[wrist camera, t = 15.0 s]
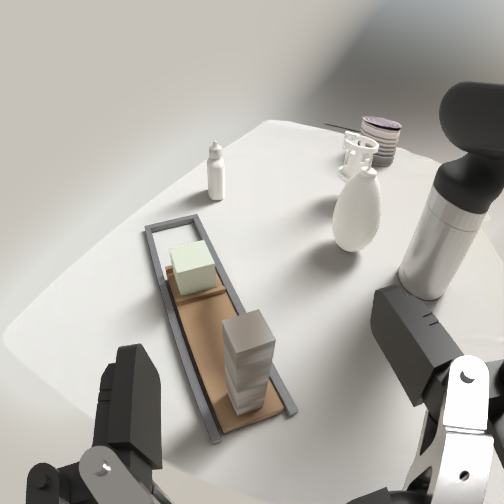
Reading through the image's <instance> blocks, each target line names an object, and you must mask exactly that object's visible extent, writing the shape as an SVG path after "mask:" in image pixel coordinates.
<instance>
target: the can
mask: <svg viewBox="0 0 504 504" xmlns="http://www.w3.org/2000/svg"><path fill="white" fill-rule="evenodd" d="M362 118H363V119H362V125H361V130H360V135H361V136H365V137H368V138H371V139H373V140H374V141H376V142H377V143H378V144H379V149H378V152H377V153H374V154H373V160H372V164H373V165H377V166H390V165H391V164H392V163H393V159H394V155H395V151H396V147H397V143H398V139H399V135H400V130H401V128H400V127H402V126H401V125H400V124H399V123H397V122H394V121H391V120H387V119H384V118H378V117H371V116H367V117H362ZM360 142H361V141H358V146H360ZM365 146H366V147H368V148H373V146H372V145H370V144H368V143H366V144H365Z"/></svg>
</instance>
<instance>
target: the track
mask: <svg viewBox="0 0 504 504" xmlns="http://www.w3.org/2000/svg"><path fill="white" fill-rule="evenodd" d="M190 223H194V224H195V226H196V229H197V231H198V233H199V235H200V237H201V240H204V241H205V243H206V245H207V247H208V250H209V252H210V254H211V256H212V258H213V260H214V262H215V270H216V272H217V274H218V276H219V278H220V280H221V282H222V285H223V286H225V288H226V293H227V295H228V297H229V299H230V301H231V303H232V305H233V307H234V309H235V312H236V314H237V316H239V315H242V314H245V313H246V311H245V309H244V307H243V305H242V303H241V301H240V299H239V297H238V295H237V293H236V291H235V290H234V288H233V286H232V284H231V282H230V280H229V278H228V276H227V274H226V272H225V270H224V268H223V266H222V264H221V262H220V260H219V258H218V256H217V254H216V252H215V250H214V248H213V246H212V243H211V241H210V239H209V237H208V235H207V233H206V231H205V229H204V227H203V225H202V223H201V221H200V219H199V217H198V215H197V214H195V215H190V216H186V217H182V218H177V219H173V220H169V221H164V222H160V223H156V224H152V225H148V226H145V231H146V235H147V239H148V244H149V248H150V252H151V256H152V260H153V264H154V268H155V271H156V275H157V279H158V283H159V286H160V290H161V293H162V297H163V301H164V304H165V307H166V311H167V314H168V318H169V321H170V324H171V328H172V331H173V334H174V337H175V340H176V343H177V347H178V350H179V353H180V356H181V359H182V362H183V365H184V368H185V371H186V373H187V376H188V379H189V382H190V385H191V388H192V390H193V393H194V396H195V399H196V401H197V404H198V407H199V409H200V412H201V415H202V417H203V420H204V422H205V425H206V427H207V430H208V432H209V435H210V437H211V440H212V442H213V444H216V443H219V442H222V439H221V437H220V435H219V432H218V430H217V427H216V425H215V423H214V420H213V418H212V415H211V413H210V410H209V408H208V405H207V403H206V400H205V397H204V395H203V392H202V390H201V387H200V384H199V382H198V379H197V376H196V373H195V371H194V368H193V365H192V362H191V360H190V357H189V354H188V351H187V348H186V345H185V342H184V339H183V336H182V333H181V330H180V327H179V324H178V321H177V318H176V315H175V312H174V309H173V305H172V302H171V299H170V296H169V292H168V289H167V286H166V282H165V279H164V276H163V272H162V269H161V265H160V261H159V258H158V254H157V251H156V247H155V243H154V239H153V236H152V232H156V231H160V230H164V229H168V228H172V227H177V226H181V225H185V224H190ZM269 379H270V381H271V383H272V385H273V387H274V389H275V391H276V393H277V395H278V397H279V398H280V400H281V402H282V404H283V406H284V408H285V410H286V412H287V414H288V415H289V416H292V415H294V414H296V413H297V412H298V409H297V407H296V405H295V403H294V402H293V400H292V398H291V396H290V394H289V392H288V391H287V389H286V387H285V385H284V383H283V381H282V379H281V378H280V376H279V374H278V372H277V370H276V368H275V366H274V365H273V363H272V364H271V369H270V374H269Z"/></svg>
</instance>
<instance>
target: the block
mask: <svg viewBox="0 0 504 504" xmlns="http://www.w3.org/2000/svg"><path fill="white" fill-rule="evenodd" d="M169 251H170V257H171V262H172V267H173V273H174V276H175V279H176V282H177V285H178V288H179V291H180V294H181V297H184V296H188V295H192V294H195V293H199V292H203V291H206V290H210V289H214V288H217V286H216V271H215V262H214V260H213V258H212V256H211V254H210V252H209V250H208V247H207V245H206V243H205V241H204V240H201V241H196V242H192V243H188V244H184V245H180V246H176V247H172V248H169Z"/></svg>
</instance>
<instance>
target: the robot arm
mask: <svg viewBox="0 0 504 504" xmlns="http://www.w3.org/2000/svg"><path fill="white" fill-rule="evenodd" d="M439 117H440V118H439V119H440V124H441V126H442V129H443V131H444V133H445V135H446V137H447V138H448V139H449V141H450V142H452V143H453V144H454V145H455V146H456V147H458V148H460V149H461V150H463V151H466V152H468V153H467V154H466V155H465V156H463V157H462V158H460V159H457V160H454V161H451V162H447V163H444V164H442V165H441V166H440V167H439V169H438V171H437V173H436V176H435V179H434V182H433V185H432V188H431V191H430V194H429V197H428V199H427V202H426V205H425V208H424V210H423V213H422V215H421V218H420V221H419V223H418V226H417V228H416V230H415V233H414V235H413V238H412V240H411V243H410V245H409V247H408V250H407V252H406V254H405V256H404V259H403V261H402V263H401V265H400V268H399V271H398V276H399V280H400V282H401V284H402V285H403V286H404V288H405V289H406V290H407V291H408V292H410V293H411V294H413V295H414V296H413V295H409V296H406V294H405V293H404V292H403V291H402V289H401V288H400V287H399V286H398V285H396V284H395V285H391V286H388V287H385V288H381V289H378V290H376V291H375V293H374V300H373V307H372V314H371V329H372V333H373V335H374V337H375V339H376V341H377V342H378V344H379V346H380V348H381V349H382V351H383V353H384V354H385V356H386V358H387V360H388V361H389V363H390V365H391V367H392V368H393V370H394V372H395V374H396V376H397V377H398V379H399V381H400V383H401V384H402V386H403V388H404V390H405V392H406V394H407V395H408V397H409V399H410V401H411V403H412V405H413V406H414V407H416V406H418V405H420V404H422V403H425V405H426V407H427V410H426V412H425V417H424V422H423V427H422V431H421V436H420V440H419V444H418V448H417V452H416V456H415V459H414V462H413V464H412V466H411V467H410V470H409V472H408V474H407V477H406V480H405V483H404V486H403V489H402V491H389V492H388V489H387V487H385V488H383V489H380V490H378V491H375V492H373V493H370V494H367V495H365V496H362V497H359V498H357V499H354V500H352V501H350V502H348V503H347V504H483V501H484V496H485V492H486V487H487V481H488V476H489V470H490V463H491V456H492V448H493V446H494V448H495V450H496V453H497V455H498V457H499V459H500V461H501V464H502V466H503V468H504V360H498V361H492V362H486V363H483V362H482V361H481V360H480V359H478V358H476V357H473V356H465V355H464V354H463V353H462V351H461V350H460V349H459V347H458V346H457V345H456V343H455V342H454V341H453V339H452V338H451V336H450V335H449V334H448V333H447V331H446V330H445V329H444V327H443V326H442V325H441V323H439V322H438V319H437V318H436V317H435V316H434V315H432V312H431V311H430V309H429V308H428V307H427V306H426V304H425V303H424V302H423V301H421V300H420V299H418V298H421V299H424V300H435V299H438V298H440V297H441V296H442V295H443V293H444V291H445V290H446V288H447V287H448V285H449V283H450V282H451V280H452V278H453V277H454V275H455V273H456V271H457V270H458V268H459V266H460V264H461V262H462V261H463V259H464V257H465V255H466V253H467V251H468V249H469V248H470V246H471V244H472V242H473V240H474V238H475V236H476V234H477V232H478V230H479V228H480V225H481V223H482V221H483V219H484V217H485V215H486V213H487V211H488V209H489V206H490V204H491V203H492V202H493V201H494V200H495V199H496V198H497V197H498V196H499V195H500V193H501V192H502V190H503V188H504V84H495V83H484V82H471V81H469V82H468V81H466V82H460V83H458V84H456V85H454V86H453V87H452V88H450V89H449V90H448V92H447V93H446V94H445V96H444V97H443V99H442V102H441V105H440V110H439ZM415 296H416V297H418V298H416V297H415ZM99 390H100V393H99V396H98V403H97V411H96V419H95V428H94V437H93V445H92V447H91V448H90V449H88V450H87V451H86V452H85V453H84V454H83V455H82V457H81V459H80V461H79V462H77V463H74V464H71V465H67V466H64V467H61V468H58V469H56V468H55V467H53V466H51V465H50V464H47V463H39V464H37V465H35V466H34V467H33V468H32V469H31V470H30V472H29V474H28V477H27V489H26V504H174V503H173V502H172V500H171V499H170V498H169V497H167V495H166V494H165V493H164V492H163V491H162V490H161V489H160V488H159V487H158V486H157V484H156V483H155V482H154V481H153V480H152V470H155V469H162V447H161V383H160V377H159V374H158V371H157V369H156V368H155V366H154V364H153V363H152V361H151V359H150V358H149V356H148V354H147V352H146V351H145V349H144V347H143V346H142V345H141V344H134V345H127V346H121V347H119V348H118V350H117V356H116V363H111V364H108V366H107V368H106V369H105V371H104V373H103V375H102V376H101V383H100V389H99Z"/></svg>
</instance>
